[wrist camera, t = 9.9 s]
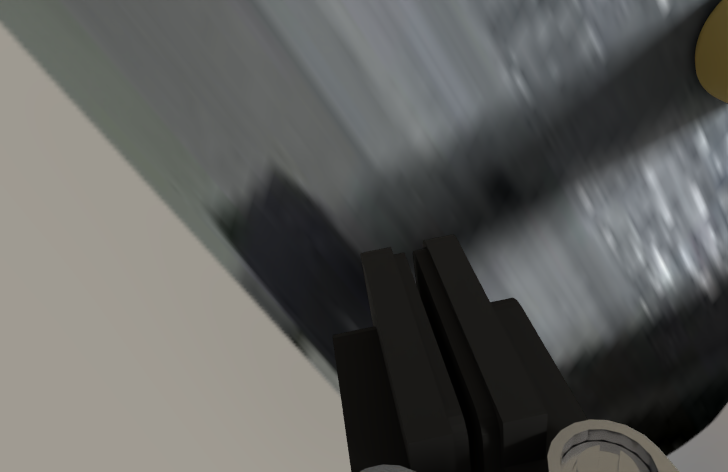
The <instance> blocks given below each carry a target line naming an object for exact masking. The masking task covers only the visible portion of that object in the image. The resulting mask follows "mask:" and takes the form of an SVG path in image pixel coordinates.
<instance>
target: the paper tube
mask: <svg viewBox="0 0 728 472" xmlns="http://www.w3.org/2000/svg"><path fill="white" fill-rule="evenodd" d="M695 68H696V73H697V77H698V79H699V81H700V83H701V85H702V86H703V88H704V89H705V90H706V91H707V92H708V93H710V94H711V95H712V96H714V97H716V98H718V99H720V100H722V101H724V102H725V103H727V104H728V0H722V1H721V2H720V3H719V4H718V5H717V6H716V7H715V9H714V10H713V11H712V13H711V14H710V15H709V17H708V19H707V20H706V22H705V24H704V26H703V28H702V30H701V32H700V35H699V38H698V41H697V45H696V50H695Z"/></svg>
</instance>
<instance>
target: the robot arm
mask: <svg viewBox="0 0 728 472" xmlns="http://www.w3.org/2000/svg"><path fill="white" fill-rule="evenodd" d="M361 260H362V266H363V271H364V277H365V282H366V288H367V293H368V299H369V304H370V310H371V316H372V321H373V327H369V328H365V329H360V330H355V331H350V332H345V333H340V334H336V335H333V344H334V351H335V358H336V365H337V373H338V380H339V387H340V394H341V401H342V408H343V415H344V422H345V429H346V436H347V443H348V451H349V458H350V465H351V472H680V471H679V470H678V469H677V468H676V467H675V466H674V465H673V464H672V463H671V461H670V460H669V459H668V458H667V457H666V456H665V455H664V453H663V452H662V451H661V450H660V449H659V448H658V447H657V446H656V445H655V444H654V443H653V442H651V441H650V440H649V439H648V438H647V437H646V436H645V435H643V434H641V433H639V432H638V431H636V430H634V429H632V428H630V427H628V426H626V425H623V424H619V423H616V422H612V421H609V420H591V419H590V420H588V419H587V417H586V416H585V414H584V412H583V411H582V409H581V407H580V405H579V404H578V402H577V400H576V399H575V397H574V395H573V394H572V392H571V390H570V388H569V387H568V385H567V383H566V382H565V380H564V378H563V376H562V375H561V373H560V371H559V370H558V368H557V366H556V365H555V363H554V361H553V359H552V358H551V356H550V354H549V353H548V351H547V349H546V348H545V346H544V344H543V342H542V341H541V339H540V337H539V336H538V334H537V332H536V330H535V329H534V327H533V325H532V324H531V322H530V320H529V319H528V317H527V315H526V313H525V312H524V310H523V308H522V307H521V305H520V304H519V302H518V301H517V300H516V299H514V298H509V299H505V300H500V301H495V302H490V301H489V299H488V298H487V296H486V294H485V292H484V290H483V288H482V286H481V284H480V282H479V280H478V278H477V276H476V274H475V273H474V271H473V269H472V267H471V265H470V263H469V261H468V259H467V257H466V255H465V253H464V251H463V249H462V247H461V246H460V244H459V242H458V240H457V238H456V236H455V235H448V236H443V237H438V238H433V239H428V240H424V241H423V249H420V250H415V251H413V260H414V268H415V277H416V283H415V281H414V278H413V275H412V272H411V269H410V267H409V264H408V261H407V258H406V256H405V253H400V254H395V255H393V252H392V249H391V247H389V248H384V249H379V250H374V251H369V252H364V253H361ZM416 285H417V286H416Z"/></svg>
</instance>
